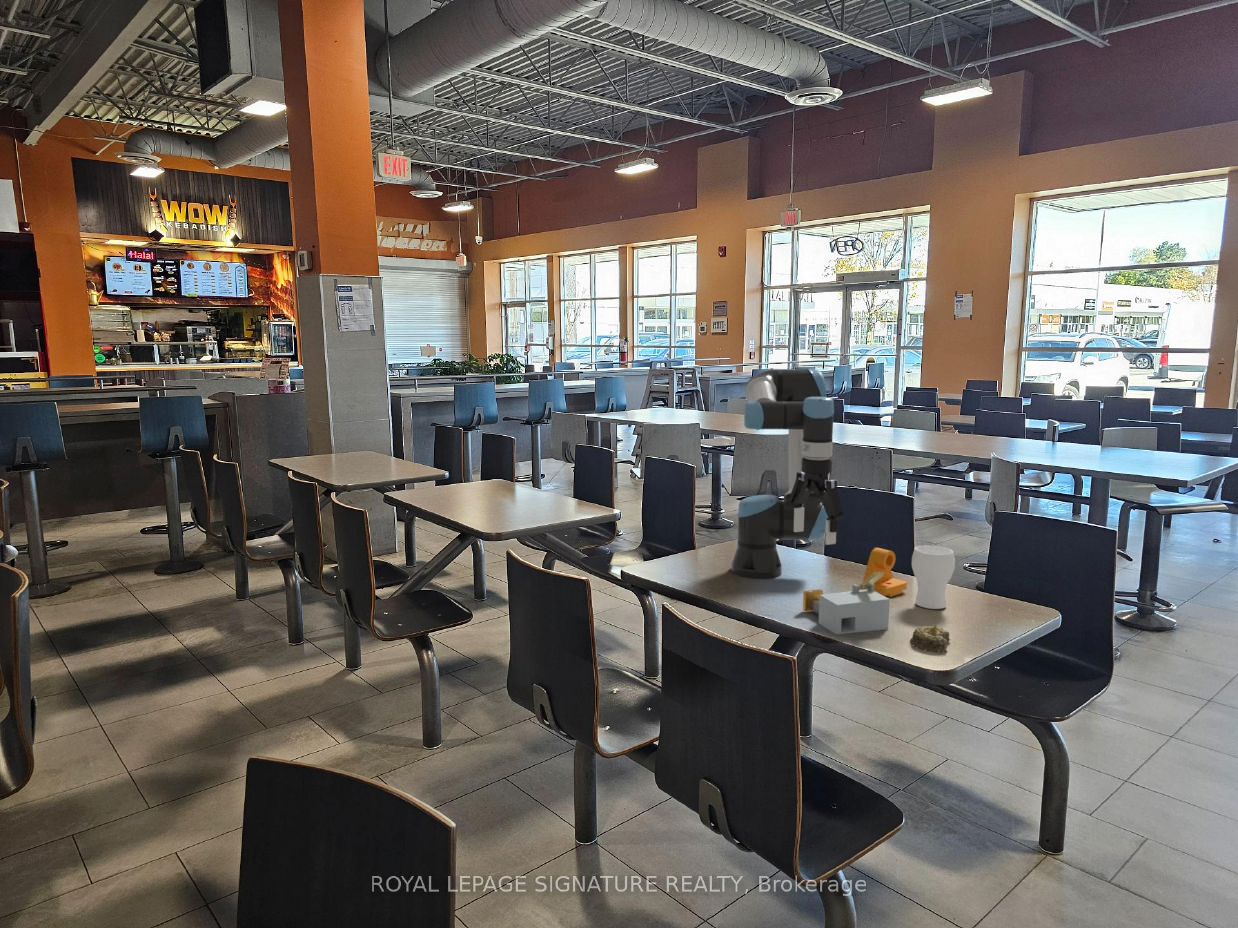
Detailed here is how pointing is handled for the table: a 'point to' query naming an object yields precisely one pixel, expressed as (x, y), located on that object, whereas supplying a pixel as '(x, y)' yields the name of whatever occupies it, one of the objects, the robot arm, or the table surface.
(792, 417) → the robot arm
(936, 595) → the cup
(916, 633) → the olive green round lump
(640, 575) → the table surface
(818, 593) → the pin
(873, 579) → the latch bar
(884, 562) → the bracket
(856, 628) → the block
